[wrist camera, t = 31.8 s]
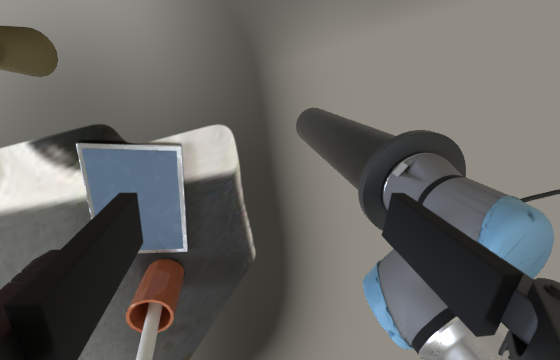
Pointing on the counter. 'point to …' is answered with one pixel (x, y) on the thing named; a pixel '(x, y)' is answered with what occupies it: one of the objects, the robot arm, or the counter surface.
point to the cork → (26, 51)
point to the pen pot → (157, 293)
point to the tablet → (140, 187)
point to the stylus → (149, 332)
